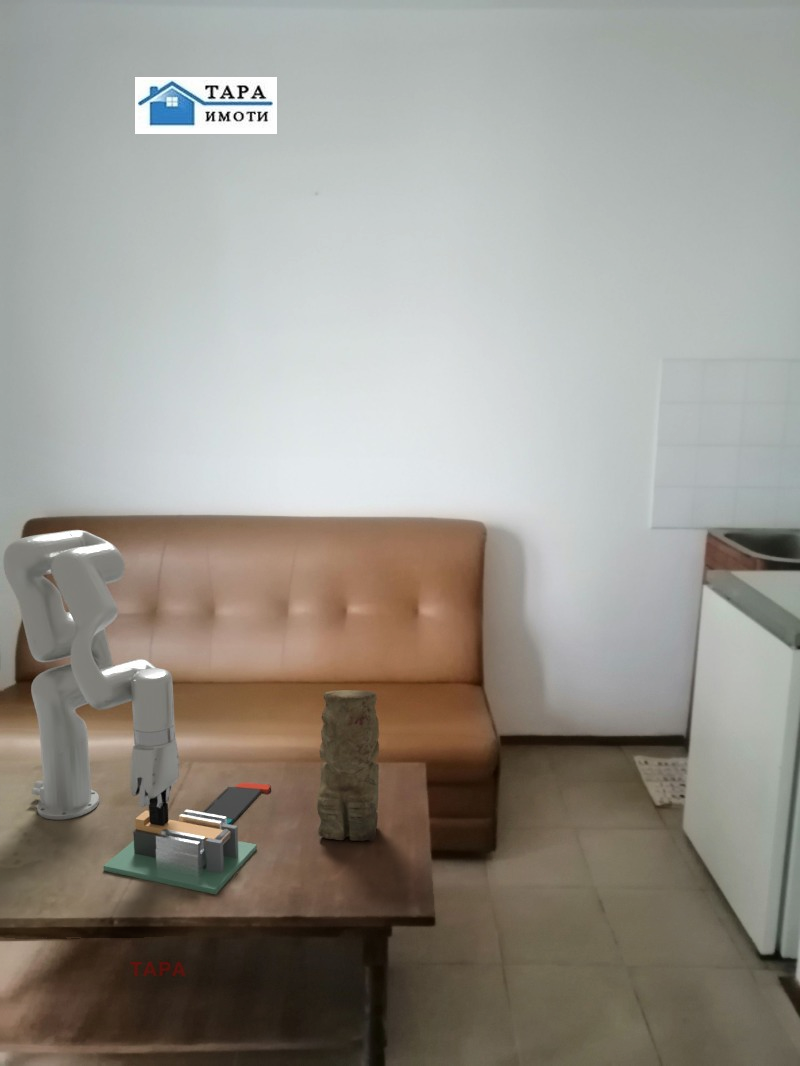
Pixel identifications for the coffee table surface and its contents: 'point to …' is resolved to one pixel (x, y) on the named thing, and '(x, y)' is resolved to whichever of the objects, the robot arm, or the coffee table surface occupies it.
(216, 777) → the coffee table surface
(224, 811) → the gaming console
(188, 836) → the heat sink
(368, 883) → the coffee table surface
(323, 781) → the sculpture
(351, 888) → the coffee table surface
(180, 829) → the tan long bar
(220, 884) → the board
